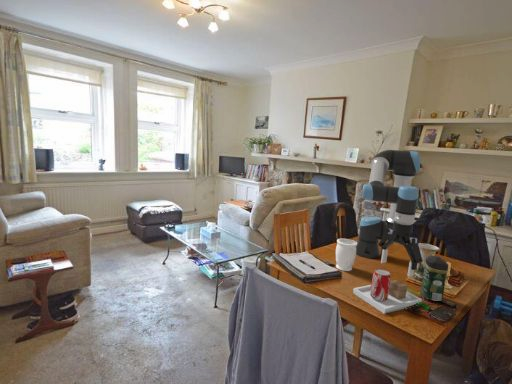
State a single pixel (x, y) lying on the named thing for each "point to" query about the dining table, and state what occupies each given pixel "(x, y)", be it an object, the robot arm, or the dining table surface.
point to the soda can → (380, 285)
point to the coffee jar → (434, 278)
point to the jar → (345, 254)
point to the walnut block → (398, 289)
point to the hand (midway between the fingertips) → (396, 269)
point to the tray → (390, 303)
